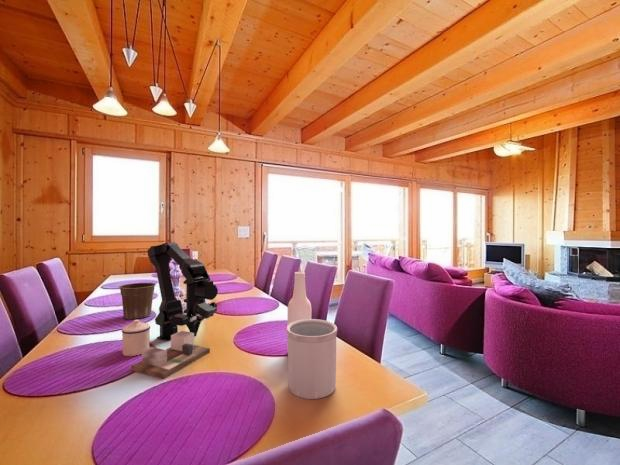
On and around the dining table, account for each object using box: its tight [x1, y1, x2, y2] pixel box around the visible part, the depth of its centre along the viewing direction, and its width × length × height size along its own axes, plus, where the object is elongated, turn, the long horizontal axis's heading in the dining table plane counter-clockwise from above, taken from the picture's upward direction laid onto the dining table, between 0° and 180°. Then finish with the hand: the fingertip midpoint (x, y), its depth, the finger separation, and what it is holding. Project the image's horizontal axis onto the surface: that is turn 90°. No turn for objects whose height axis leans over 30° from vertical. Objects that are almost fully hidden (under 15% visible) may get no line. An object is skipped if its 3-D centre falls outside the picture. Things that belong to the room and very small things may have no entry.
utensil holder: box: [286, 318, 338, 400], centre depth 85 cm, size 15×15×18 cm
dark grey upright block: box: [182, 344, 192, 355], centre depth 102 cm, size 3×1×3 cm, turn 69°
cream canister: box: [121, 319, 151, 357], centre depth 108 cm, size 12×9×12 cm
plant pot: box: [118, 282, 156, 320], centre depth 150 cm, size 16×16×16 cm
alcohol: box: [286, 271, 313, 353], centre depth 107 cm, size 9×9×30 cm
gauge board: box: [130, 345, 211, 380], centre depth 100 cm, size 14×20×6 cm
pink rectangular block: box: [170, 330, 196, 351], centre depth 106 cm, size 10×5×5 cm, turn 69°
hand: (194, 336), depth 112 cm, fingers closed
